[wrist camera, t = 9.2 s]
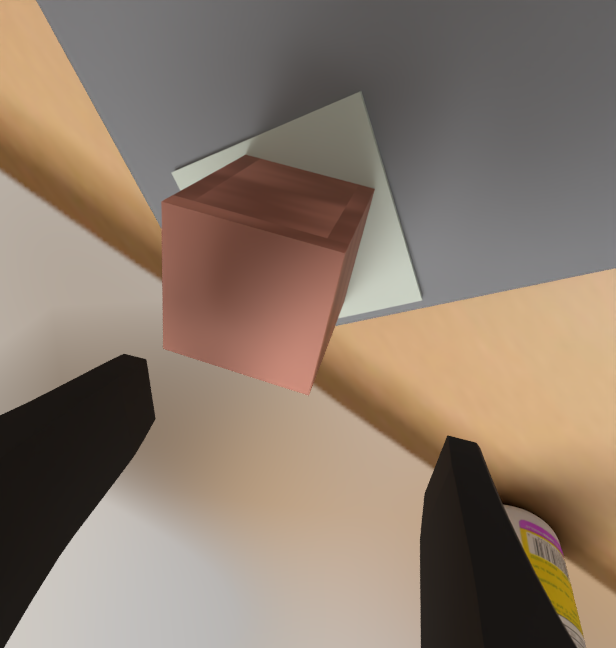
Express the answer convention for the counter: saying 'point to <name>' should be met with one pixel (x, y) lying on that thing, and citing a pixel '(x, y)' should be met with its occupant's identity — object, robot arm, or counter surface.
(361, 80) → the board
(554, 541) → the supplement bottle
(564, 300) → the counter surface
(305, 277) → the rimmed copper cube
